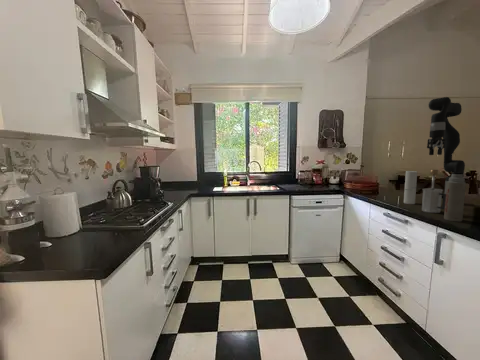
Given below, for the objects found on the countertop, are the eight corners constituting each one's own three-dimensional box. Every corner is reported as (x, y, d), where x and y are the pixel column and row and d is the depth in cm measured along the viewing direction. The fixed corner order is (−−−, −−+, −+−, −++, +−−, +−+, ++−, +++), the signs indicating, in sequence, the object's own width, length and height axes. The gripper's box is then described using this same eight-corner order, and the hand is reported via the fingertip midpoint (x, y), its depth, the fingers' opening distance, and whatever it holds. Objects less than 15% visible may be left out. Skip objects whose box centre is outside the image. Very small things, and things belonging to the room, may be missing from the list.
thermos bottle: (444, 219, 134) (448, 172, 131) (443, 216, 140) (447, 171, 137) (463, 222, 129) (468, 173, 126) (461, 219, 135) (466, 172, 132)
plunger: (429, 196, 156) (432, 169, 154) (438, 197, 151) (441, 169, 149) (425, 196, 154) (427, 169, 152) (433, 198, 149) (436, 170, 147)
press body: (427, 208, 160) (429, 187, 158) (448, 213, 148) (450, 190, 147) (418, 210, 156) (420, 188, 155) (439, 214, 145) (441, 191, 143)
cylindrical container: (416, 204, 175) (419, 171, 172) (406, 203, 176) (408, 171, 173) (411, 202, 181) (414, 171, 179) (401, 202, 183) (403, 171, 180)
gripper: (437, 130, 153) (435, 154, 155) (423, 130, 148) (422, 155, 150) (451, 129, 146) (448, 154, 148) (437, 129, 141) (435, 155, 143)
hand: (435, 154), depth 149 cm, fingers open, 8 cm apart
